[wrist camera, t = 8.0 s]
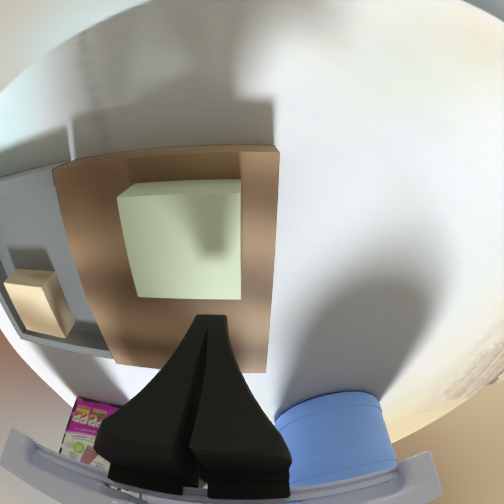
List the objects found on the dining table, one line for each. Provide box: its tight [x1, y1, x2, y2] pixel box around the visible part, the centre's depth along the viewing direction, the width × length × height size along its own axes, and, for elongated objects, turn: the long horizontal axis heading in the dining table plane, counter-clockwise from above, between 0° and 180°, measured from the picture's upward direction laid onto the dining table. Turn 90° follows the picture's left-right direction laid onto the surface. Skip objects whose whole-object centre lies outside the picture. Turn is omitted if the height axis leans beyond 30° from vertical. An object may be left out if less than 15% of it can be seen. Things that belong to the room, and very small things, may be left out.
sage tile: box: [117, 179, 241, 300], centre depth 15 cm, size 6×6×2 cm
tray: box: [0, 161, 114, 359], centre depth 19 cm, size 18×14×2 cm
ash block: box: [4, 269, 76, 338], centre depth 20 cm, size 6×6×2 cm
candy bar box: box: [59, 397, 130, 494], centre depth 26 cm, size 11×5×16 cm, turn 91°
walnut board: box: [53, 145, 280, 373], centre depth 19 cm, size 18×14×3 cm
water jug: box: [275, 392, 397, 504], centre depth 21 cm, size 16×16×28 cm
